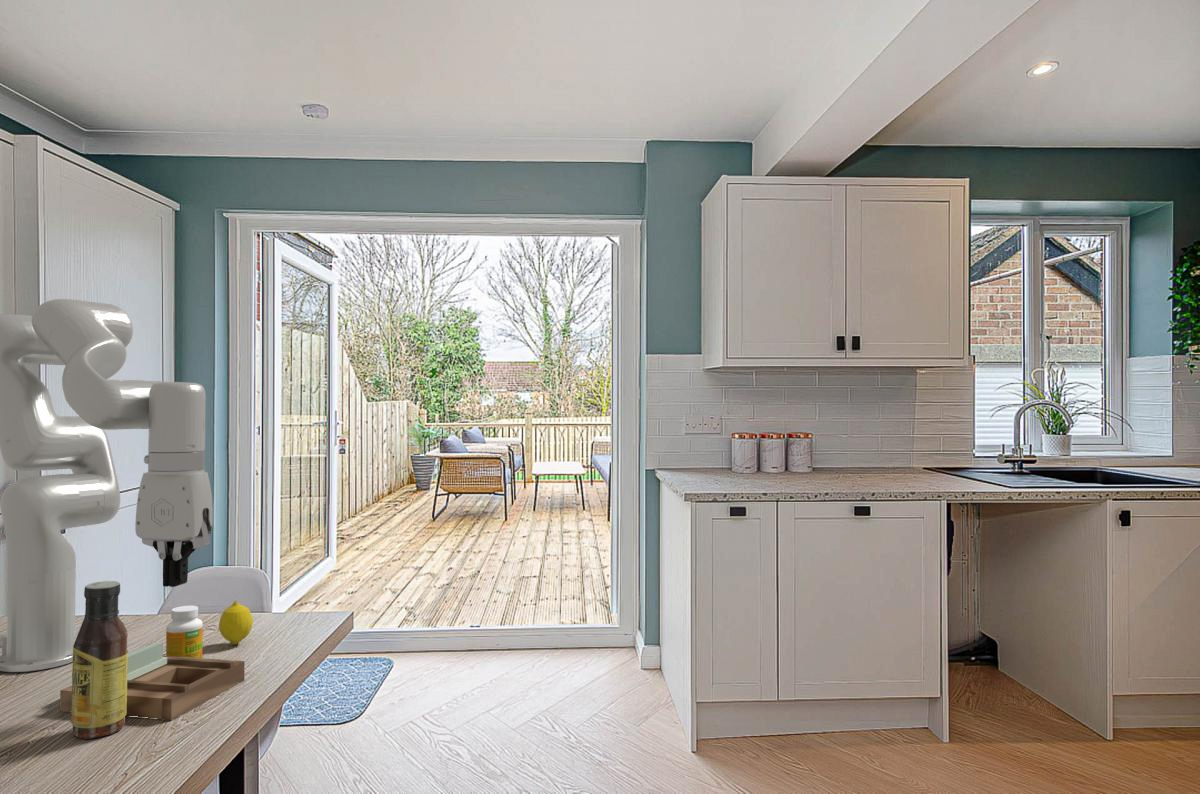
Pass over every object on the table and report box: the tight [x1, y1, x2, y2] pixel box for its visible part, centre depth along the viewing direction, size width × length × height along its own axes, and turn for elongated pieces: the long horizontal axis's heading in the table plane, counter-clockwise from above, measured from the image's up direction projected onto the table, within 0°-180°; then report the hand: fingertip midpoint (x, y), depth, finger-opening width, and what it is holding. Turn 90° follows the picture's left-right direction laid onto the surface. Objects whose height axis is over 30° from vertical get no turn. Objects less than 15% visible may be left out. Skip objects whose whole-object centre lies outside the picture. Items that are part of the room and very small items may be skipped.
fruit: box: [218, 600, 254, 646], centre depth 140 cm, size 6×6×8 cm
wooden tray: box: [59, 655, 245, 721], centre depth 116 cm, size 18×16×4 cm
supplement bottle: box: [165, 605, 204, 658], centre depth 128 cm, size 5×5×10 cm
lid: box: [127, 641, 167, 680], centre depth 117 cm, size 8×8×4 cm
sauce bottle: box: [71, 580, 129, 740], centre depth 103 cm, size 6×6×20 cm
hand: (175, 584), depth 116 cm, fingers closed
